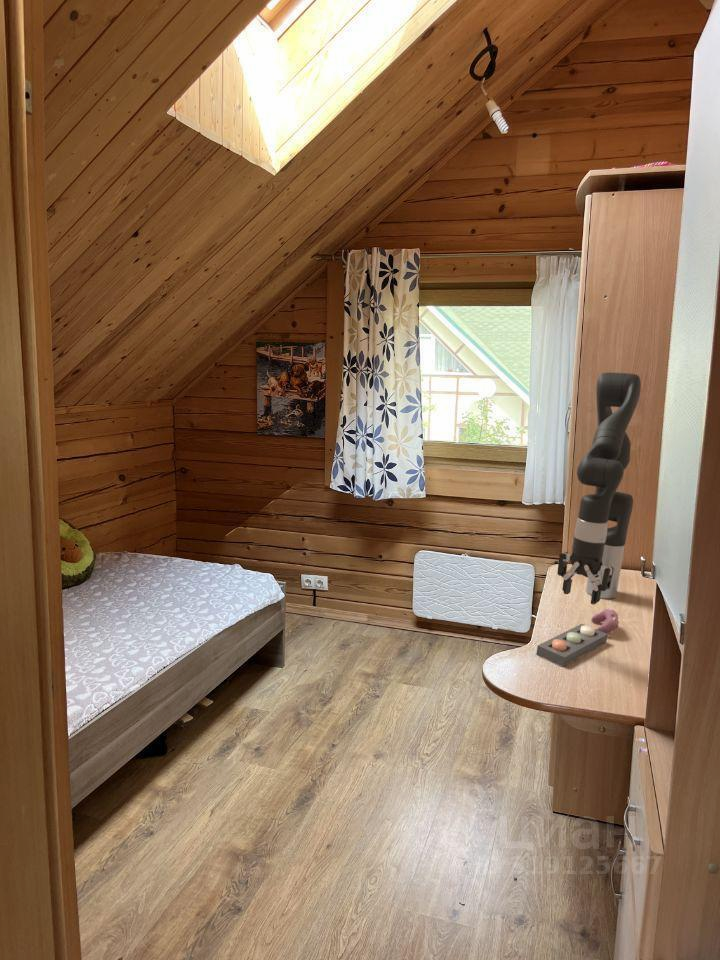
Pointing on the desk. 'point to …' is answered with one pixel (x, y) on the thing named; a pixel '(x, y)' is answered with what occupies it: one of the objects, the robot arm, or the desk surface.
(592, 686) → the desk surface
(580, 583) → the desk surface
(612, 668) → the desk surface
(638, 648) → the desk surface
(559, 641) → the terracotta button
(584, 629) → the cream button
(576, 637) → the sage button
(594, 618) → the video game controller
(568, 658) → the button panel
